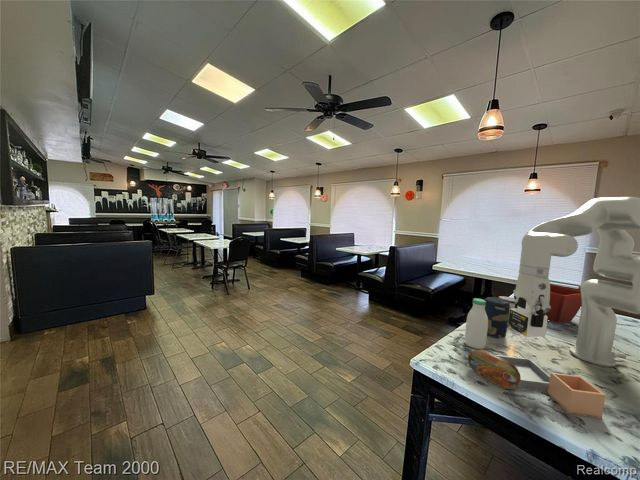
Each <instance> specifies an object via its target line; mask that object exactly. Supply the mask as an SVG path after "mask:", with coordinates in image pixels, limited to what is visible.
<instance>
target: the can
mask: <svg viewBox="0 0 640 480" xmlns="http://www.w3.org/2000/svg"><path fill="white" fill-rule="evenodd" d="M498 298H500V299H504V300H506V301H508V302H509V303H510V308H509V315H510V309H511V308H515V303H514V301H515V299H514V297H509V296H503V295H502V296H501V295H500V296H498ZM508 324H509V319H508Z"/></svg>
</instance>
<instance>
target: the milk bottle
mask: <svg viewBox="0 0 640 480" xmlns="http://www.w3.org/2000/svg"><path fill="white" fill-rule="evenodd" d="M485 305H486V301H485V299H482V298H476V297H475V298H473V299H472V307H471V309H470V310H469V312H468V314H467V316H466V323H465V330H464V331H465V333H464V344H465V345H467V346H468V347H470V348H473V349H475V350H484V349H485V348H486V345H487V336H488V335H487V329H488V318H487V315H486V312H485Z"/></svg>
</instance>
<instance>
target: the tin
mask: <svg viewBox="0 0 640 480" xmlns="http://www.w3.org/2000/svg"><path fill="white" fill-rule="evenodd" d="M495 355H496V354H492V353H491V352H488V351H486V350H484V349H475V350H472V351H471V352H469V354H468V355H467V362H468V365H469V367H470V369H471V370H472V371H473V372H474V373H475V374H476V375H479V376H481V378H484V379H486V380H488V381H490V382H492V383H493V384H495V385H497V386H498V387H500V388H503V389H506V390H507V389H508V390H513V389H514V388H517V385H518V384H519V383H520V379H521V378H520V373H519V371H518V369H517V368H516V367H515V366H514V365H513V364H512V363H511V362H509V361H507V360H504V359H502V358H500V357H497V356H495Z"/></svg>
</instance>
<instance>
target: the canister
mask: <svg viewBox="0 0 640 480" xmlns="http://www.w3.org/2000/svg"><path fill="white" fill-rule="evenodd" d="M484 300H485V301H486V305H485V312H486V315H487V318H488V329H487V336H488V337H491V338H495V339H504V338H506V337H507V331H508V328H509V327H508V324H509V323H508V319H509V308H510V303H509V302H508V301H506V300H504V299H500V298H499V297H496V296H494V297H491V296H488V297H486V298H485V299H484Z"/></svg>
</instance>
